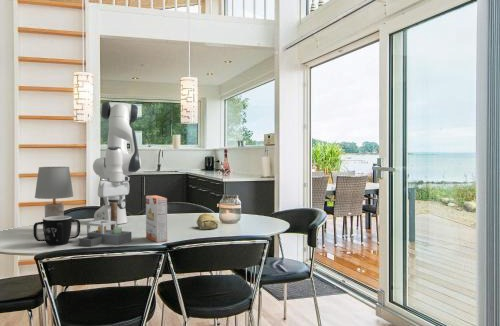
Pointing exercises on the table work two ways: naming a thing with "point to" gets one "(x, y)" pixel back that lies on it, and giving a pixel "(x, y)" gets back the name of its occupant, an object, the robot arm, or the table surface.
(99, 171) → the robot arm
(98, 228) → the button breaker
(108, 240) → the grey stand
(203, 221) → the pastry
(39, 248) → the table surface
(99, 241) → the block
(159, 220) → the cracker box
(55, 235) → the mug
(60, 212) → the lamp
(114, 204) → the dowel
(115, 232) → the button on
